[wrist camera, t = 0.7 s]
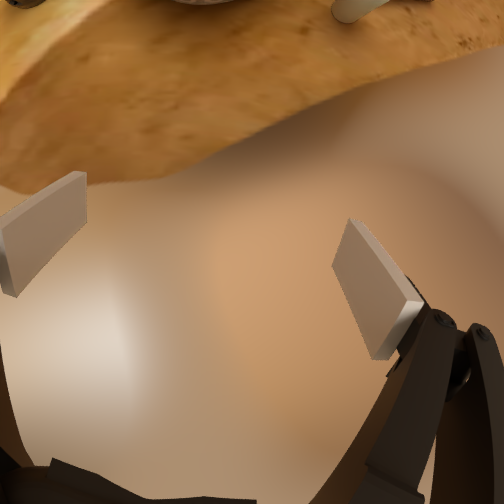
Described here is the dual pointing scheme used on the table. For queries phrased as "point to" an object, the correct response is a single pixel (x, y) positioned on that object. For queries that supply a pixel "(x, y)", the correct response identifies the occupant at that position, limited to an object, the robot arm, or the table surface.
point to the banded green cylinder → (353, 9)
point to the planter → (202, 1)
